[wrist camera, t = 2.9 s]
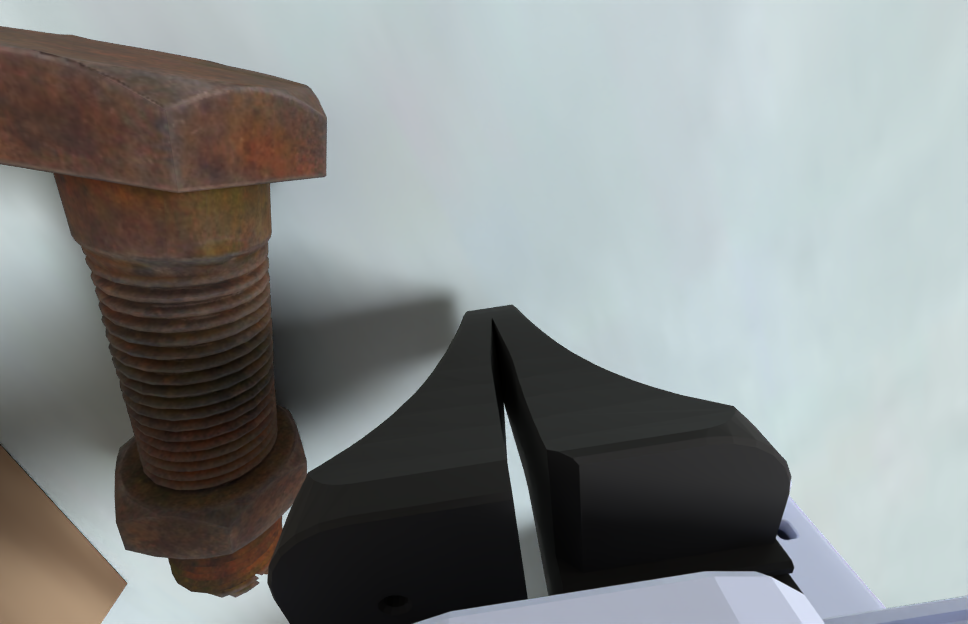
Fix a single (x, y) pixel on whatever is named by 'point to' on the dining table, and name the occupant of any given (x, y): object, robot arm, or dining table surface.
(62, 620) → the bench stop
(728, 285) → the dining table surface
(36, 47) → the bolt
